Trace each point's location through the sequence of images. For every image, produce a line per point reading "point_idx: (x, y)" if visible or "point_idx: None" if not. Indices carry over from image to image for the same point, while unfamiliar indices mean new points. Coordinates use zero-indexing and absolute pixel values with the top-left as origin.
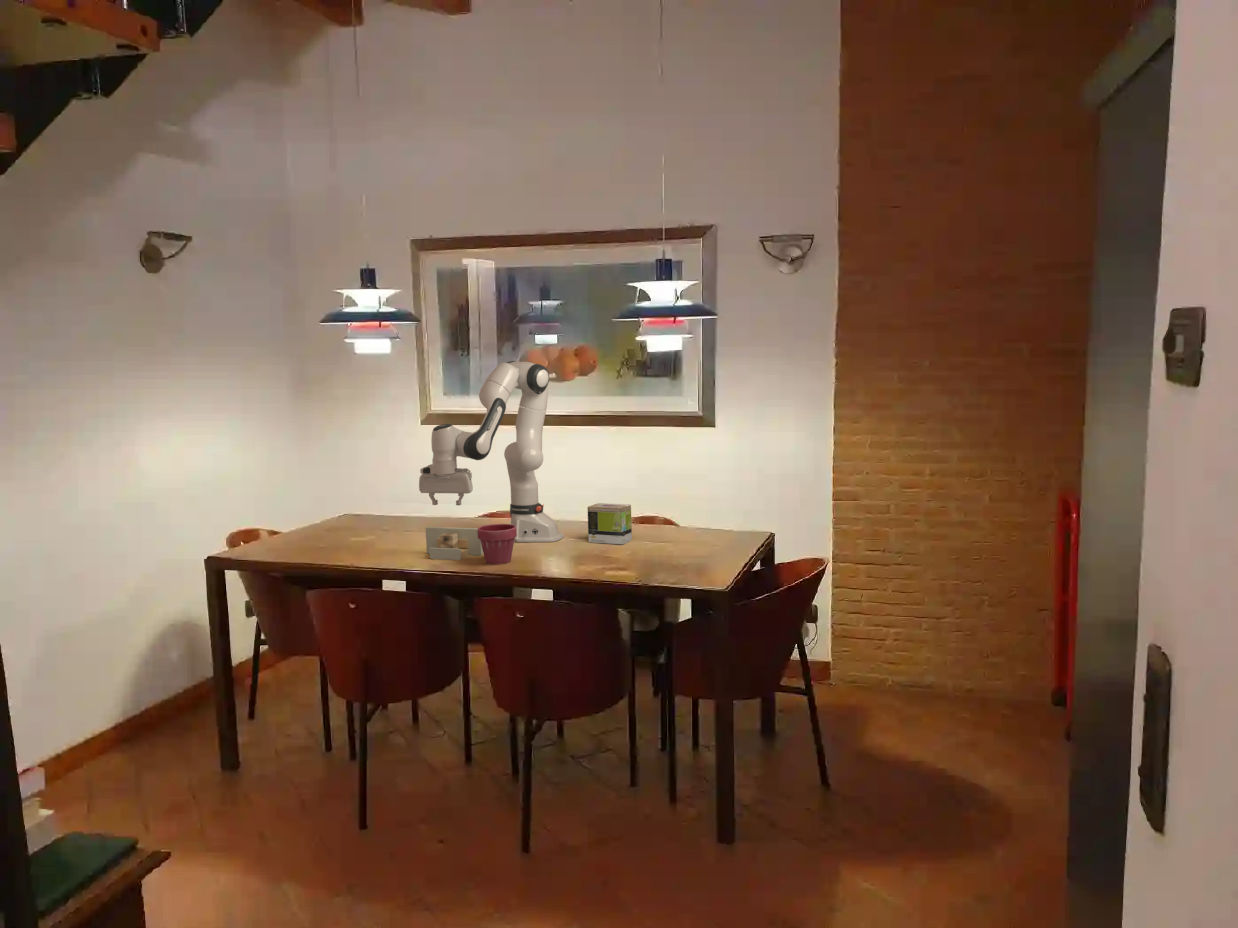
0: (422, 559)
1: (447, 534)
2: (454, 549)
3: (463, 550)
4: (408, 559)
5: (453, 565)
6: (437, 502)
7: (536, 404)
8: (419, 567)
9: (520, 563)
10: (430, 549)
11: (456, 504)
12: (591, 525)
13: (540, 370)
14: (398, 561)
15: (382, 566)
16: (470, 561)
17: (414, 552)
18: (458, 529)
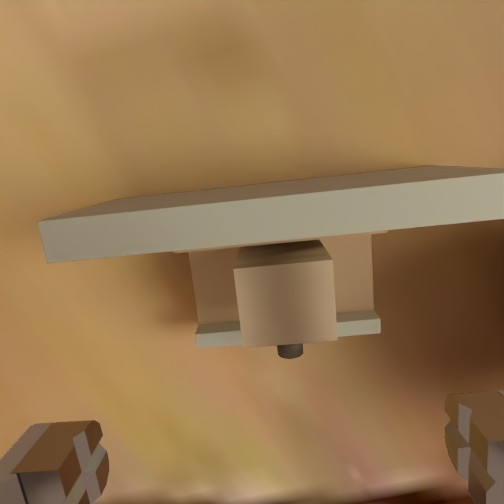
0: (178, 341)
1: (275, 305)
2: (348, 335)
3: (363, 257)
4: (114, 356)
5: (382, 407)
6: (81, 438)
7: None
8: (251, 466)
9: None
10: (203, 344)
11: (462, 464)
12: None
13: None
14: (96, 398)
15: None
16: (429, 323)
17: (44, 218)
18: (330, 233)
